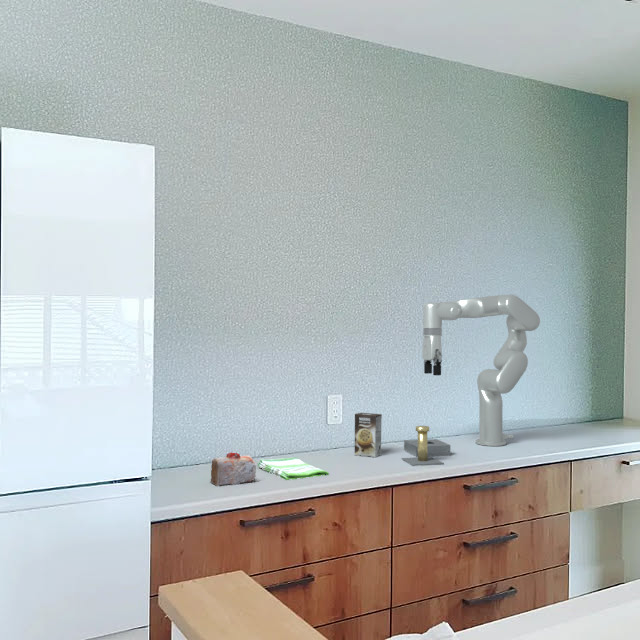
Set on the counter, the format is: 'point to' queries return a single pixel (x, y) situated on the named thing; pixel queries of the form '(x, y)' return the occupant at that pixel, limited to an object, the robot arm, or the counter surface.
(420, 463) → the mat
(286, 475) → the dish towel
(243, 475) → the food item
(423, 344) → the robot arm
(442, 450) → the block
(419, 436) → the brass flanged peg
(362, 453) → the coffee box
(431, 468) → the counter surface
